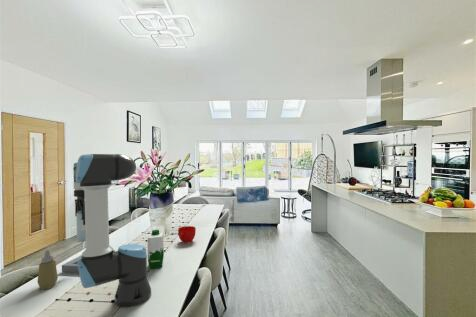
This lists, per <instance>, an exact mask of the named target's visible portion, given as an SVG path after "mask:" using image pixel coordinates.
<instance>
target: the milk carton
mask: <svg viewBox="0 0 476 317" xmlns="http://www.w3.org/2000/svg"><path fill="white" fill-rule="evenodd" d="M164 252H165V251H164V235H163V232H160V230H159V229H153V230H152V231H151V233H149V234H148V236H147V261H148V263H147V264H148V269H149V270H153V269H160V268H163V264H164V263H163V262H164V257H165V256H164Z"/></svg>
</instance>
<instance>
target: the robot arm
mask: <svg viewBox="0 0 476 317" xmlns="http://www.w3.org/2000/svg"><path fill="white" fill-rule="evenodd" d="M72 167H73V168H72V170H73V189H74V190H73V197H74V198H75V197H76V199H74V204H75V205H74V211H75V213H74V214H75V217H76V213H78V211H81V213H82V219H81V224H82V231H85V234H86V241H85V249H84V251H83V252H82V253H81V255H82V259H79V260H78V261H77V263H78V271H79V273H78V275H79V280H80V283H81V285H82V288H85V289H89V288H92V287H98V286H100V285H103V284H107V283H110V282H114V281H118V286H117V287H116V288H117V289H116V290H115V293H114V294H115V295H114V303H115V305H117V306H119V307H122V308H128V307H135V306H139V305H141V304H143V303H145V302H146V301H148V300H149V299H150V298H151V296H152V288H151V285H150V282H149V279H148V269H147V268H148V267H147V266H148V265H147V264H148V263H147V261H148V253H147V248H146V247H145V245H143V244H138V243H127V244H121V245H120V246H118V249H117V250H115V252H113V250H114V247H113V246H111V245H110V227H109V193H108V191H109V189H110V187H111V186H112V181H121V180H125V179H129V178H131V177H132V176H133V175H135V173H136V171H137V164H136V161H135V160H134V159H133V158H132V157H130V156H127V155H125V154H120V153H115V154H110V153H109V154H108V153H91V154H90V153H87V154H81V155H80V156H79V157H78V159H77V162H74V163H73V166H72Z"/></svg>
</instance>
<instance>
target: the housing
mask: <svg viewBox="0 0 476 317" xmlns="http://www.w3.org/2000/svg"><path fill="white" fill-rule="evenodd" d="M115 251H116V250H114V249H113V252H115ZM79 259H82V254H81V255H80V256H77V257H76V258H72V260H69V261H67V262H66V263H63V264H62V265H61V273H62V274H63V273H65V274H67V273H68V274H69V273H70V274H79V271H78V263H77V261H78V260H79Z"/></svg>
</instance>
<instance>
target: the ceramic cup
mask: <svg viewBox="0 0 476 317" xmlns="http://www.w3.org/2000/svg"><path fill="white" fill-rule="evenodd" d="M196 230H197V229H196V227H195V226H192V225H191V226H190V225H186V226H181V227H178V229H177V234H178V239H180V241H181V243H183V242H184V243H183V244H189V243H188V242H190V243H192V242H193V240H194V239H195V237H196ZM191 241H192V242H191Z"/></svg>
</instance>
